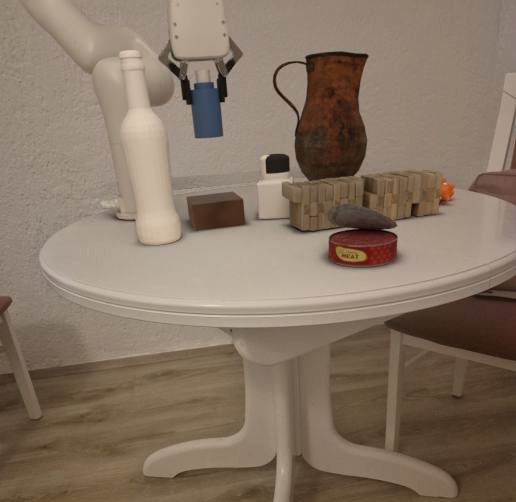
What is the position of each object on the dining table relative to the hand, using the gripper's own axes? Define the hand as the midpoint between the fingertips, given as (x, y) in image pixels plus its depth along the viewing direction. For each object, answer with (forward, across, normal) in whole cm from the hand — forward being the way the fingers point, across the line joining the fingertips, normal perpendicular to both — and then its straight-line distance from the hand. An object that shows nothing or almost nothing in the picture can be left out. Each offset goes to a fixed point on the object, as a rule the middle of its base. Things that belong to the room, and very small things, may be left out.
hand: (205, 102), depth 88 cm
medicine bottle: (+22, -13, -1) cm, 26 cm away
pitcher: (+22, -29, -17) cm, 40 cm away
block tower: (+22, -26, +12) cm, 36 cm away
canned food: (+22, -16, +34) cm, 44 cm away
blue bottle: (+6, 0, 0) cm, 6 cm away
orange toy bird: (+22, -47, +4) cm, 52 cm away
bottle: (+22, +12, +8) cm, 27 cm away
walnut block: (+22, 0, -1) cm, 22 cm away
